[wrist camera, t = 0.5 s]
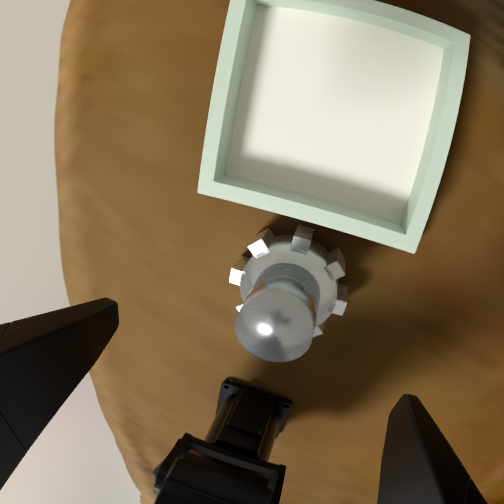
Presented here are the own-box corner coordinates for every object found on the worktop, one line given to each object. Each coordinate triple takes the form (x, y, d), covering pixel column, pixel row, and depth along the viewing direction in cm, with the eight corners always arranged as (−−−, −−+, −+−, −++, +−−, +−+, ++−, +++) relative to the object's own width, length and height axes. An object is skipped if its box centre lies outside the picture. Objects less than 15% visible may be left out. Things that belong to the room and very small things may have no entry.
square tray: (410, 244, 18) (421, 269, 15) (209, 187, 20) (184, 202, 17) (461, 42, 12) (483, 29, 9) (244, -9, 14) (224, -30, 11)
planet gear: (329, 334, 22) (319, 396, 17) (232, 304, 23) (199, 358, 18) (363, 243, 19) (368, 293, 14) (249, 210, 20) (212, 248, 15)
